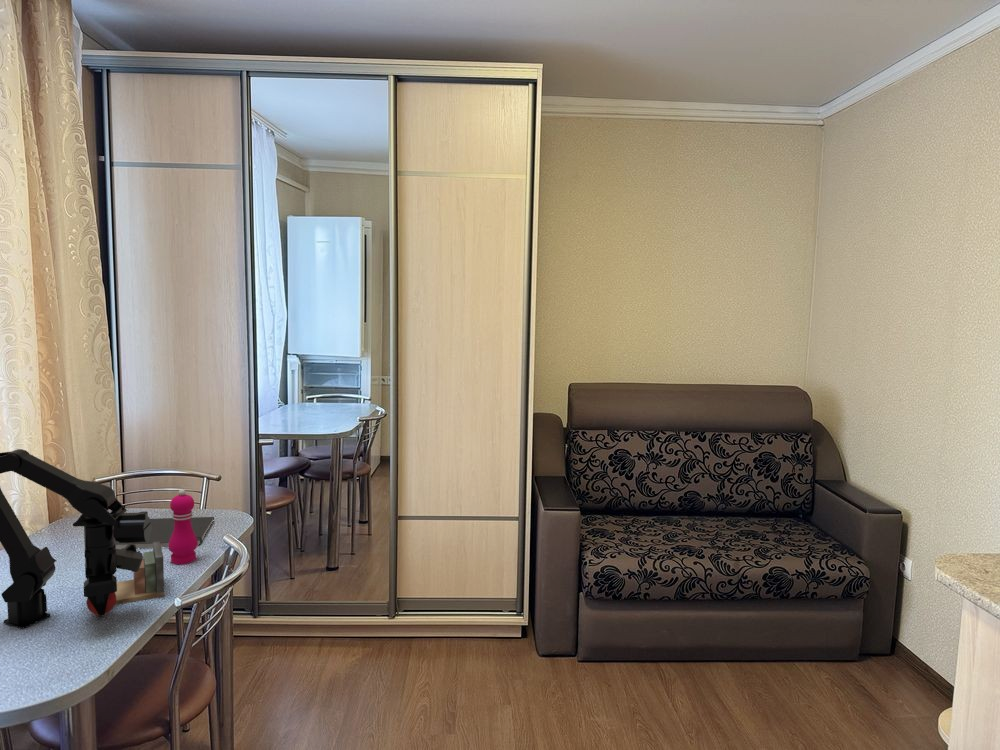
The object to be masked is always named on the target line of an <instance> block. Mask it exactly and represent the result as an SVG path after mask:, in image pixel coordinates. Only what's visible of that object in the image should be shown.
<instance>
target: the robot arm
mask: <svg viewBox="0 0 1000 750" xmlns="http://www.w3.org/2000/svg"><path fill="white" fill-rule="evenodd" d="M9 472H13V473H15V474H17V475H20V476H21V477H23V478H26V479H27V480H29V481H31V482H33V483H36V484H37V485H39V486H41V487H42V488H45V489H47V490H49V491H50V492H53V493H54V494H57V495H58V496H60V497H62V498H64V499H65V500H66V501H67V502H68V503H69V504H70V506H71V507H72V508H73V509H74V510H76V511H77V512H78V513H80V516H79V518H78V519H77V520H76V521H74V522H73V523H72V527H76V528H77V527H83V537H84V542H83V543H84V569H85V571H84V573H85V581H84V582H83V597H84V598H88V599H89V600H90V602H91V603H92V605H93V606H94V608H95V610H96V611H97V613H98V614H99V616H98V617H102V616H101V615H104V614H105V611H106V606H107V601H108V597H109V594H110V593H115V592H117V582H118V579H117V576H115V574H116V572H118V571H117V569H118V570H119V569H120V570H125V571H131V572H132V573H133V572H138V570H139V568H140V565H141V562H142V560H143V552H141V551H140V550H138V549H136V545H135V544H128V545H127V546H126V547H125V548H122V549H116V544H114V538H115V540H116V541H119V543H138V542H148V541H149V539H150V536H151V530H152V523H151V522H150V519H151V518H150V517H149V514H148V513H149V512H148V511H138V512H127V508H126V507H125V506H124V505H123V504H122V503H121V502H120V501H119V499H117V497H116V494H115V490H114V489H113V488H112V487H110V486H107V485H105V484H102V483H99V482H96V481H90V480H84V479H80V478H77V477H75V476H73V475H72V474H70V473H68V472H65V471H63V470H62V469H60V468H58V467H56V466H54V465H52V464H50V463H48V462H46V461H44V460H42V459H41V458H39V457H37V456H35V455H33V454H31V453H30V452H29V451H28V450H25V449H22V448H17V449H14V450H12V451H11V450H10V451H5V452H0V475H1V474H5V473H9ZM109 510H110V512H109ZM113 525H114V530H113ZM0 544H1V546H2V547H3V549H4V551H5V552H6V554H7V557H8V559H9V561H8V563H9V574H10V578H11V579H12V583H11V584H10V585H9V586H8V587H7V588H6V589H5V590H4V591H3V592H1V594H0V595H1V597H2V599H3V601H4V603H7V604H6V605H7V618H6V619H4V620H3V624H5V625H10V626H12V627H16V628H19V629H25V628H28V627H29V626H31V625H34V624H37V623H39V622H41V621H43V620H45V619H47V618H50V617H51V613H48V612H47V611H48V606H47V604H48V603H47V601H48V600H47V594H45V589H44V588H43V587H45V586H46V584H47V582H48V581H49V580H50V579H51V578H52V577H53V576H54V574H55V571H56V565H55V563H56V562H57V560H56V559H55V558H54V557H53V556H52V555H51V552H50V548H48V547H47V546H44V547H43V548H41V549H40V548H39V547H38V546H37V545H36V546H35V545H34V543H33V542H32V541H31V539H30V538H29V535H28V533H26V530H25V528H24V527H23V526H22V523H21V521H19V518H18V517H17V515H16V513H15V512H14V510H13V508H12V507H11V505H10V503H9V501H8V498H6V496H5V494H4V493H3V491H2V489H1V487H0ZM137 550H138V551H137ZM105 615H106V614H105ZM105 615H104V616H105Z"/></svg>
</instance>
